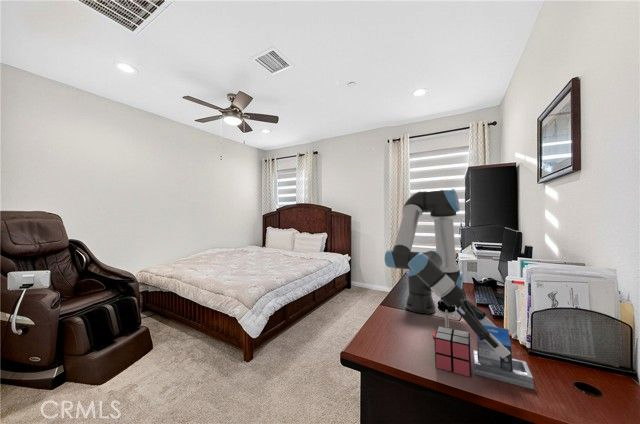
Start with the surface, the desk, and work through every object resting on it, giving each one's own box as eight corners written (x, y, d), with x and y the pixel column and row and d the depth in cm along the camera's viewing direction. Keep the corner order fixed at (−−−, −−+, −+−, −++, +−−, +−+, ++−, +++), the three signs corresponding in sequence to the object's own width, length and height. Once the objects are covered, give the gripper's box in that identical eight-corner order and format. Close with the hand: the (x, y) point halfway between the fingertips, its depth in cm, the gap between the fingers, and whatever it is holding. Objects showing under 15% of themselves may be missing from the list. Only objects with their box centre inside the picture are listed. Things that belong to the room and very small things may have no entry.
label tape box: (478, 366, 77) (477, 328, 78) (478, 360, 81) (476, 323, 81) (513, 375, 73) (511, 334, 73) (510, 367, 76) (509, 328, 77)
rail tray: (473, 358, 84) (473, 349, 84) (525, 370, 77) (525, 360, 77) (475, 374, 75) (475, 364, 75) (533, 389, 68) (533, 378, 68)
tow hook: (430, 333, 103) (437, 343, 94) (428, 303, 104) (435, 309, 95) (450, 335, 102) (460, 345, 93) (449, 303, 103) (458, 310, 94)
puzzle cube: (471, 378, 73) (469, 345, 74) (435, 368, 79) (434, 337, 79) (470, 361, 82) (469, 332, 82) (438, 353, 87) (437, 325, 88)
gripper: (441, 288, 96) (488, 334, 88) (436, 309, 74) (498, 372, 66) (456, 276, 93) (505, 322, 85) (455, 294, 72) (522, 358, 64)
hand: (502, 344), depth 76 cm, fingers open, 13 cm apart
